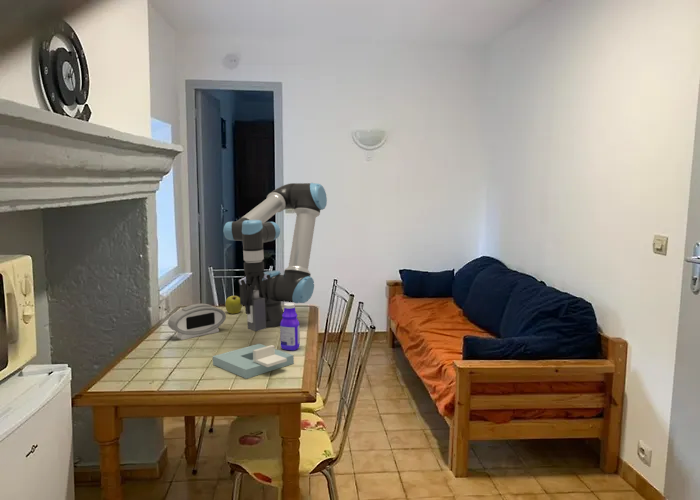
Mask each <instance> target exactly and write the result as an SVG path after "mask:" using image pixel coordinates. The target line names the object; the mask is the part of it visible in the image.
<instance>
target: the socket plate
mask: <svg viewBox="0 0 700 500" xmlns="http://www.w3.org/2000/svg"><path fill="white" fill-rule="evenodd" d="M266 346H267V345H264V344H261V343H256V344H252V345H249V346H245V347H241V348H238V349H234V350H230V351H227V352H223V353H219V354H216V355H213V356H212V365H213V366H215V367H217V368H220V369H223V370H225V371H227V372H230V373H232V374H234V375H237V376H238V377H239V376H240V377H242V378H244V379H245V380H246V379H247V380H248V379H250V378H253V377H256V376H259V375H262V374H265V373H269V372H271V371H275V370H279V369H281V368H284V367H287V366H290V365H293V364H294V363H295V360H294V357H295V356H294V355H295V354H290V353H288V352H285V351H282V350H279V349H276V348H275V354H276V355H278V356H281V357H284V358H287V361H286V362H283V363H280V364H277V365H273V366H270V367H266V366H263V365H261V364H258V363H255V362H253V350H256V349H259V348H263V347H266Z"/></svg>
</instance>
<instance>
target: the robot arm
mask: <svg viewBox="0 0 700 500" xmlns="http://www.w3.org/2000/svg"><path fill="white" fill-rule="evenodd" d="M327 201H328V198H327V193H326V189H325V187H324V186H323V185H322V184H321V183H314V182H310V183H308V182H307V183H303V182H302V183H301V182H300V183H297V182H296V183H287V184H283V185H281V186H279V187H278V188H275V189H274V190H272V191H271V192H269V193H268V194H267V195H266V199H264V200H263V201H262V202H260V203H259V204H258V205H256V206H255V207H254V208H252V209H251V210H250V211H249V212H247V213H246V214H245V215H243V216H241V217H240V218H239V219H238V220H236V221H234V220H233V221H232V220H231V221H227V222H226V223H225V224H224V226H223V230H222V231H223V235H224V238H225V239H226V240H229V241H233V242H236V241H238V242H239V241H240V242H242V247H243V248H242V252H243V253H242V254H243V261H244V262H243V271H244V276H243V278H241V279H238V280H237V282H238V285H239V298H240V304H241V305H242V306H245V307H244V309H245V311H244V312H245V314H246V317H247V318H246V319H247V320H246V322H247V321H248V322H251V323H253V306H251V300H252V294H253V290H259V297H262V298H265V315H266V328H275V327H280V323H281V321H282V318H283V317H282V314H283V313H284V308H283V307H282V302H284V303H294V304H305V303H307V302H308V301H309V300H310V299H311V297H312V296H313V293H314V289H315V280H314V278H313V277H312V276H311V274H312V273H311V272H310V271H309V264H310V258H311V251H312V244H313V238H314V232H315V225H316V221H317V220H316V219H317V217H319V216H320V215H321V211H323V210H324V209H326V207H327V203H328V202H327ZM284 210H293V211H294V213H295V215H296V218H295V222H294V223H295V224H294V230H293V235H292V236H293V237H292V241H291V248H290V249H291V250H290V253H289V254H290V255H289V261H288V266H287V268H285V269H284V270H283V274H282V273H281V271H280V270H269V271H264V270H265V262H264V260H265V258H264V257H265V255H264V243H268V242H273V241H275V240H277V239H278V238H279V237H280V235H281V228H280V226H279V224H278V223H276V222H274V221H268V220H269V219H271V218H272V217H273V216H275V214H277V213H281V212H283V211H284Z"/></svg>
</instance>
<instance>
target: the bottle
mask: <svg viewBox="0 0 700 500" xmlns="http://www.w3.org/2000/svg"><path fill="white" fill-rule="evenodd" d="M283 312H284V313H283V314H282V317H283V318H282V321H281V323H280V325H279V327H280V332H279V333H280V339H279V340H280V348H281V349H282V350H286V351H296V350H298V349H299V347H300V345H301V344H300V341H301V340H300V339H301V338H300V336H301V334H300V331H301V330H300V327H301V326H300V320H299V319H298V314H297V312H296V303H294V302H285V303H284V304H283Z"/></svg>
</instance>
